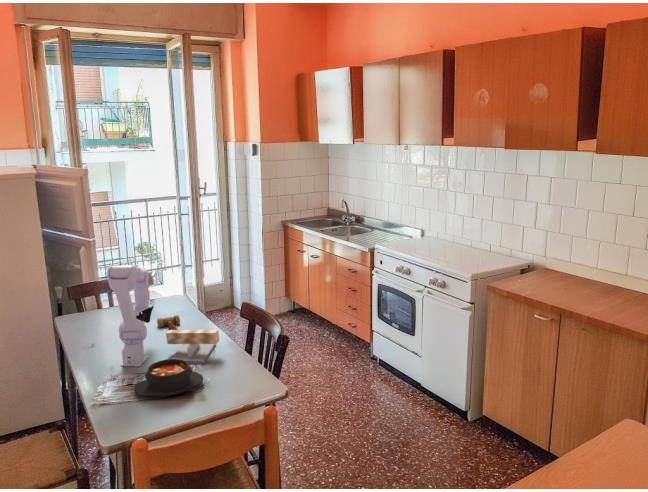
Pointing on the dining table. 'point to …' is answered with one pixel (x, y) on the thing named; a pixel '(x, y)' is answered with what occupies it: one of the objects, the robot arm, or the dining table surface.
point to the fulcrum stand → (194, 353)
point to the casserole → (168, 378)
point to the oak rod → (192, 337)
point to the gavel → (169, 322)
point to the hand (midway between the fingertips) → (143, 325)
